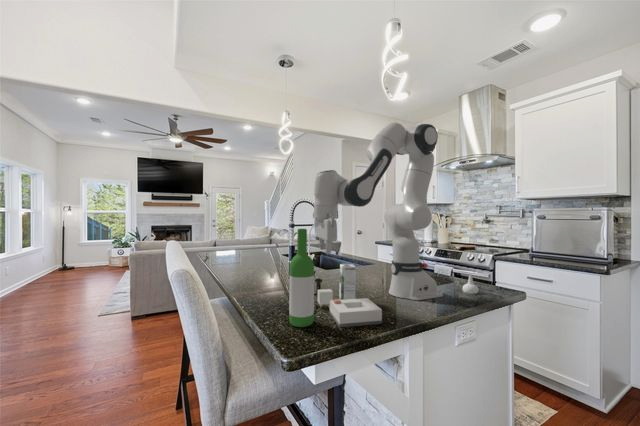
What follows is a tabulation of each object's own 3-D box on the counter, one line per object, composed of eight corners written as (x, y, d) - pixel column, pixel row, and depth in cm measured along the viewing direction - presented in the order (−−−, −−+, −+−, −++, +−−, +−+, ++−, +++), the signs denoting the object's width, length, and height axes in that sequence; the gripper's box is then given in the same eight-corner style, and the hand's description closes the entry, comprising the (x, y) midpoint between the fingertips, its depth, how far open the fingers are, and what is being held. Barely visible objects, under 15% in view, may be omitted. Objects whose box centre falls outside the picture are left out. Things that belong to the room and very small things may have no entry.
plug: (330, 304, 108) (330, 289, 108) (332, 307, 105) (332, 291, 105) (317, 305, 107) (317, 289, 107) (319, 308, 104) (319, 292, 104)
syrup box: (338, 299, 115) (339, 263, 114) (353, 299, 115) (353, 263, 115) (341, 304, 109) (341, 266, 109) (356, 303, 109) (356, 266, 109)
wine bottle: (313, 318, 94) (314, 228, 94) (313, 328, 86) (314, 229, 86) (290, 318, 94) (290, 228, 94) (288, 328, 86) (288, 229, 86)
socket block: (367, 310, 102) (367, 295, 102) (381, 323, 90) (381, 307, 90) (329, 313, 99) (329, 298, 99) (339, 327, 87) (339, 310, 87)
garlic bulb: (478, 296, 122) (480, 278, 122) (462, 293, 125) (464, 275, 125) (477, 292, 128) (479, 275, 128) (461, 289, 131) (464, 272, 130)
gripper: (342, 214, 96) (341, 255, 96) (327, 213, 116) (326, 247, 116) (323, 214, 95) (323, 255, 95) (312, 213, 115) (311, 247, 115)
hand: (325, 251), depth 106 cm, fingers open, 8 cm apart
